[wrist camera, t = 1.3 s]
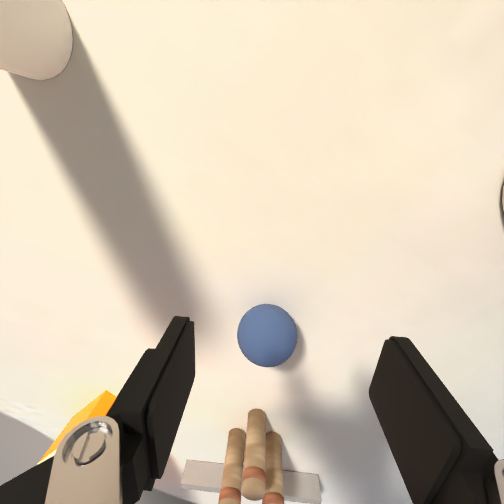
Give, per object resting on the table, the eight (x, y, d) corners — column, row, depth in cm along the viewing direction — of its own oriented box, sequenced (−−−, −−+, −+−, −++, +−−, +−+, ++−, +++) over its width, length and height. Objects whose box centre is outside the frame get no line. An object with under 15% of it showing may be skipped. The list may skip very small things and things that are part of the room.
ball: (297, 295, 27) (304, 332, 22) (290, 340, 29) (296, 384, 24) (242, 290, 27) (235, 326, 22) (239, 335, 30) (232, 378, 24)
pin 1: (246, 429, 35) (240, 508, 27) (245, 440, 36) (239, 521, 28) (228, 427, 35) (217, 505, 28) (228, 438, 36) (217, 518, 28)
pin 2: (282, 433, 35) (286, 514, 27) (280, 444, 36) (283, 526, 28) (264, 431, 35) (263, 511, 27) (263, 442, 36) (261, 523, 28)
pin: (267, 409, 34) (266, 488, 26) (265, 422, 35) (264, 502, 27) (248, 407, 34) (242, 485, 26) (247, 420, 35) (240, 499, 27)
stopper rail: (317, 474, 38) (321, 499, 35) (316, 479, 38) (320, 504, 36) (186, 459, 39) (180, 483, 36) (186, 464, 39) (180, 488, 36)
